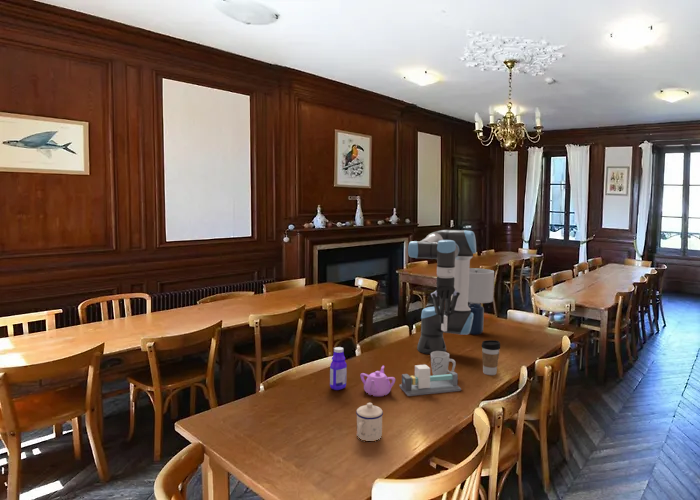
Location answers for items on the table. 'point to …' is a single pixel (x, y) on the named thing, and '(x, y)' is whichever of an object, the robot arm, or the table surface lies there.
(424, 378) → the white slider block
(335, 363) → the bottle
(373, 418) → the teacup with lid
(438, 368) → the mug
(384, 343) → the table surface
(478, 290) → the lamp
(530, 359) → the table surface
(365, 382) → the teapot
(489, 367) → the coffee cup
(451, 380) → the slider rail
